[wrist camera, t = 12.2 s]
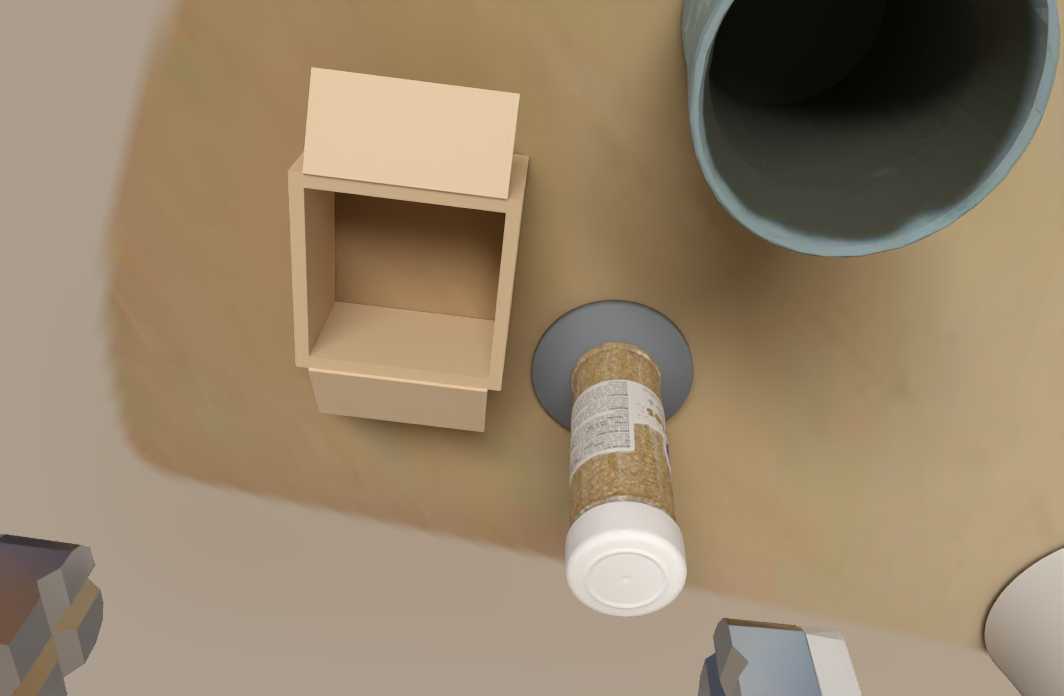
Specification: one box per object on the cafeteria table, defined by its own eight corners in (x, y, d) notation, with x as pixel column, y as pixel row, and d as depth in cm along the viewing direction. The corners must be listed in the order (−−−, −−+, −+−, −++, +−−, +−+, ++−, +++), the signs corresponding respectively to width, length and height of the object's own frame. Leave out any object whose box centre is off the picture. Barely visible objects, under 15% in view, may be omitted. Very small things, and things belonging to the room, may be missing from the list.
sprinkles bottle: (671, 399, 44) (701, 609, 33) (585, 421, 45) (586, 632, 34) (646, 326, 42) (669, 524, 31) (556, 351, 43) (547, 551, 32)
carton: (538, 71, 36) (533, 109, 32) (501, 392, 45) (493, 455, 41) (318, 43, 36) (282, 77, 32) (324, 371, 45) (297, 432, 41)
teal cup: (761, 178, 38) (826, 316, 28) (604, 7, 35) (613, 95, 25) (970, 6, 34) (1133, 95, 24) (815, -208, 31) (929, -209, 21)
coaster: (707, 310, 42) (708, 317, 42) (674, 439, 46) (675, 447, 46) (542, 290, 42) (542, 296, 41) (524, 421, 46) (524, 429, 46)
